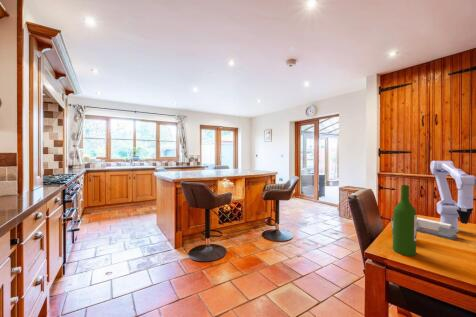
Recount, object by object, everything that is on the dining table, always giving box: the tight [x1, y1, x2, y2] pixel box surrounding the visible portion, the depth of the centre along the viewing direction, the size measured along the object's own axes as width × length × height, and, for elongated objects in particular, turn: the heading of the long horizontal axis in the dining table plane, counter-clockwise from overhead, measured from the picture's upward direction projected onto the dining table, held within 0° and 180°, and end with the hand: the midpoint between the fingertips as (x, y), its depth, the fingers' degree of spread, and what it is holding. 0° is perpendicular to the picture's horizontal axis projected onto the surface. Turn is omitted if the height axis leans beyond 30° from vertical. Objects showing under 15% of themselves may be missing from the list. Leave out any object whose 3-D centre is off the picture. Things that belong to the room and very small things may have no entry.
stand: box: [417, 222, 458, 241], centre depth 126 cm, size 8×22×6 cm, turn 32°
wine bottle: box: [392, 184, 418, 257], centre depth 101 cm, size 9×9×32 cm
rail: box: [417, 216, 452, 231], centre depth 126 cm, size 4×18×4 cm, turn 32°
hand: (464, 221), depth 115 cm, fingers open, 7 cm apart
